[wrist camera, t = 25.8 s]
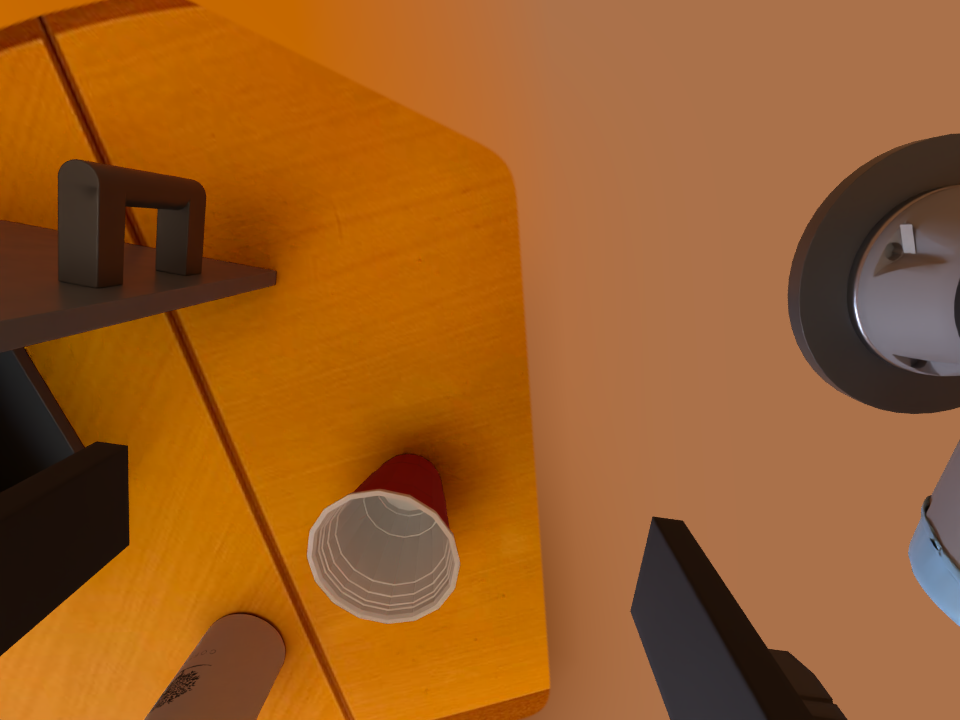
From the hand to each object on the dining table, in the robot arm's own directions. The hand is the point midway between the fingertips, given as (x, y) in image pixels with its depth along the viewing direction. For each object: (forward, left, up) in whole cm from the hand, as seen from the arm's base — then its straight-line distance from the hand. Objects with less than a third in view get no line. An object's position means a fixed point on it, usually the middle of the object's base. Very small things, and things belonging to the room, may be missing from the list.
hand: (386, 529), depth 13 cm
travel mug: (+32, +22, -33) cm, 51 cm away
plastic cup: (+10, +12, -33) cm, 36 cm away
